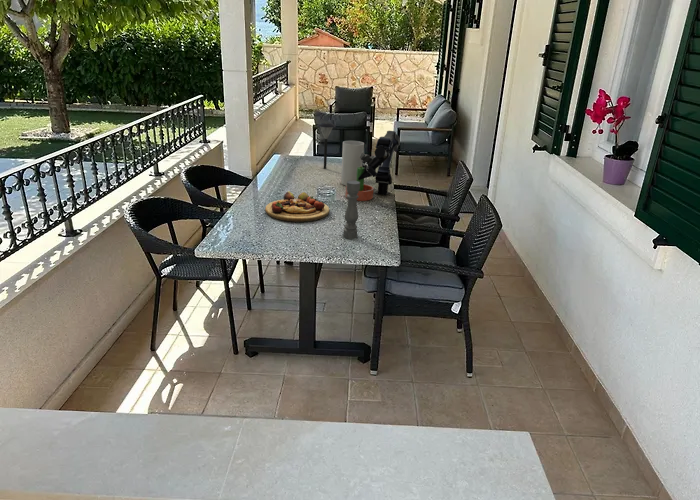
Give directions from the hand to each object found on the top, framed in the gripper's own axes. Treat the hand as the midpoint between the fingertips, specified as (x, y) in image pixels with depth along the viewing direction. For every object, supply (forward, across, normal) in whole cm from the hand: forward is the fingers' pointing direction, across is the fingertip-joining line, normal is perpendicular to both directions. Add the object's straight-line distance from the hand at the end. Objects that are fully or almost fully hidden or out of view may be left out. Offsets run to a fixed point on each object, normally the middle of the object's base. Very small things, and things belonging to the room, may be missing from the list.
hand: (357, 178), depth 278 cm
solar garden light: (+17, -63, -1) cm, 65 cm away
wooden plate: (+31, +27, -16) cm, 45 cm away
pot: (+7, 0, +8) cm, 11 cm away
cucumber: (+4, 0, +6) cm, 7 cm away
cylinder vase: (+8, -26, +8) cm, 28 cm away
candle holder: (+15, +60, 0) cm, 62 cm away
